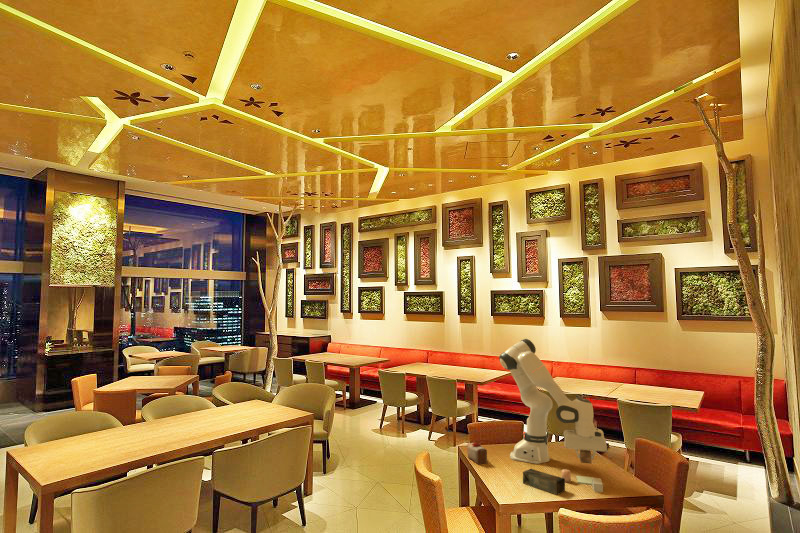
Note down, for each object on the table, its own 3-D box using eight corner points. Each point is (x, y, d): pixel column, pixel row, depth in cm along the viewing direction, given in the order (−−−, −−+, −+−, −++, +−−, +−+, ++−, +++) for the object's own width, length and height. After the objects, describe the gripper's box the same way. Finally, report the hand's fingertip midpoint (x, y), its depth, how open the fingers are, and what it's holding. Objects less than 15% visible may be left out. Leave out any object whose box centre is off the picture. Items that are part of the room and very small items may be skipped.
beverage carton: (530, 479, 233) (530, 466, 233) (566, 491, 219) (565, 477, 219) (522, 483, 227) (522, 470, 228) (557, 496, 213) (557, 481, 214)
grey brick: (603, 493, 217) (602, 484, 217) (594, 492, 218) (593, 483, 218) (600, 486, 224) (600, 478, 225) (592, 485, 226) (591, 477, 226)
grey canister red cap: (465, 457, 265) (465, 440, 266) (477, 455, 268) (477, 438, 269) (477, 465, 252) (477, 447, 253) (489, 463, 255) (489, 445, 256)
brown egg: (561, 482, 230) (561, 471, 230) (561, 478, 234) (561, 468, 234) (571, 483, 228) (570, 472, 229) (570, 479, 233) (570, 469, 233)
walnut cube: (580, 462, 230) (580, 452, 230) (580, 459, 235) (579, 449, 235) (591, 463, 229) (591, 453, 229) (590, 460, 233) (590, 450, 234)
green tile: (577, 483, 228) (577, 481, 228) (576, 476, 237) (576, 475, 237) (597, 485, 226) (597, 484, 226) (594, 478, 234) (594, 477, 234)
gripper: (563, 430, 233) (564, 458, 232) (606, 434, 227) (607, 462, 226) (563, 427, 239) (563, 454, 238) (605, 430, 233) (606, 458, 232)
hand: (585, 458), depth 232 cm, fingers closed on walnut cube, 5 cm apart
